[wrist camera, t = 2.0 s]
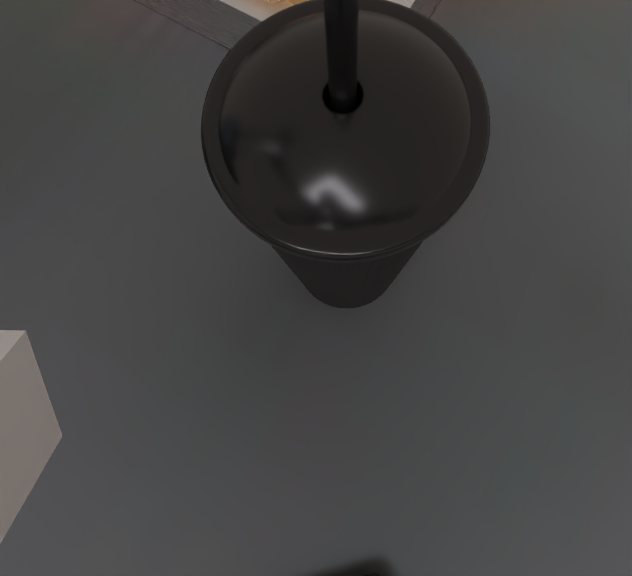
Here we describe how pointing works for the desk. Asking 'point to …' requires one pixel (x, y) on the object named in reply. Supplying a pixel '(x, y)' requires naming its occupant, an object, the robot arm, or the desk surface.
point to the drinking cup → (345, 139)
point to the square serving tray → (240, 14)
